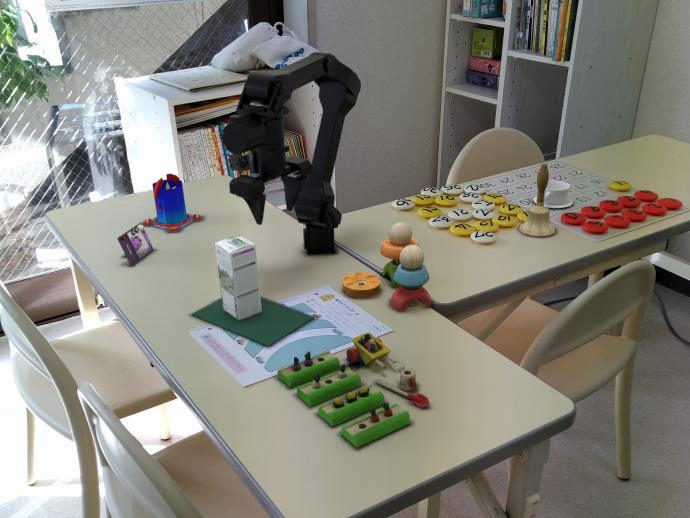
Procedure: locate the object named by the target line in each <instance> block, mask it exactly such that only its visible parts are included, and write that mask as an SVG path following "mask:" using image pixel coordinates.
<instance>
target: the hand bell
mask: <svg viewBox="0 0 690 518" xmlns="http://www.w3.org/2000/svg"><path fill="white" fill-rule="evenodd" d="M536 176H537V177H536V186H537V195H536V196H537V203H535V205H533V206H531V207H530V208H529V212H528V214H527V218H526V219H525V221H524V222H523V223H522V224H521V225H520V226H519V228H518V230H519V232H520V233H522V234H524V235H526V236H528V237H533V238H546V237H550V236H552V235H554V234H555V233H556V229H555V226H553V224H552V223H551V220H550V219H551V218H550V208H549V207H545V206H544V194H545V189H546V187H547V184H548V181H549V180H550V172H549V169H548V164H547V163H541V166H540V168H539V170H538V172H537V175H536Z"/></svg>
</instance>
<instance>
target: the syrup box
mask: <svg viewBox="0 0 690 518" xmlns="http://www.w3.org/2000/svg"><path fill="white" fill-rule="evenodd" d="M256 248H257V247H256V244H255V243H254V242H252V241H250V240H248V239H246V238H245V237H243V236H241V235H238V234H237V235H234V236H230V237H229V236H228V237H227V238H224V239H221V240H219V241H216V242H214V249H215V256H216V257H215V258H216V267H217V272H218V280H219V281H218V282H219V288H220V296H221V298H222V304H223V310H224V311H225V312H227V313H228V314H230V315H231V316H233V317H234V318H236V319H237V320H241V319H244V318H247V317H250V316H252V315H255V314H257V313H259V312H262V307H261V298H262V296H261V288H260V279H259V270H258V269H259V268H258V258H257V249H256Z"/></svg>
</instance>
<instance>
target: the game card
mask: <svg viewBox="0 0 690 518" xmlns="http://www.w3.org/2000/svg"><path fill="white" fill-rule="evenodd" d="M144 227H145V226H143V223H142V222H139V223H137V224H136V225H134V226H133V227H131V228H130V229H129V230H127V231H126V232H124V233H122V234H121V235H120V236H118V237H117V241H118V244H119V246H120V248H121V249H122V251H123V254H122V257H123V258H125V257H126V260H127V261H128V263H129V266H130V267H132V266H134V265H136V264H137V263H138V262H139V261H141V260H143V258H145V257H146V256H147V255H149V254H150V253H151V252H153V251H154V250H155V249H154V247H153V244H152V243H151V240H150V238H149V236H148V234H147V232H146V230H145V228H144ZM129 233H130V235H131V237H130V236H129V235H128V234H129ZM139 233H141V234H142V236H143V238H144V239H143V238H140V237H139V235H136V234H139ZM144 240H145V241H146V244H147V246H148V247H147V251H146V252H144V254H142V255H140V257H139V255H138V253H137V252H138V251H139V250H140V249H141V248H142V246H143V244H144V243H142V241H144Z"/></svg>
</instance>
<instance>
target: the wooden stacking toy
mask: <svg viewBox="0 0 690 518" xmlns="http://www.w3.org/2000/svg"><path fill="white" fill-rule="evenodd" d="M412 237H413V229H412V228H411V227H410V225H409V224H407V223H406V222H395V223H394V224H392V225H391V226H390V228H389V230H388V237H387V238H385V239H384V240H383V241H382V243H381V245H380V249H379V252H380V255H381V256H382V257H384V258H387V259H390V261H389V262H387V263H386V264H385V265H384V266H383V268H382V274H381V275H382V276H383V277H385V276H390V281H391V285H392V287H393V288H395V290H394V291H393V293H392V295H391V298H390V306H391V307H392V308H393V310H395V311H398V312H400V313H401V312H404V311H405V310H407V308H408V306H414V305H415V303H416V301H420V302H421V303H422V304H423V305H424V306H425V307H427V308H430V307H431V306H432V298H431V295H430V293H429V291H428V290H427V289H426V288H425V287H424V285H426V284H427V283H428V282H429V280H430V273H429V271H428V270H427V267H426V265H425V264H424V261H425V252H424V251H423V249H422V248H421V247H420V246H419V243H418V242H417V241H416V240H415V239H413V238H412ZM341 284H342V287H343V290H344V292H345V294H347V296H350V297H353V298H357V299H358V298H359V299H365V298H370V297H374V296H376V295H377V294H378V293H379V292H380V291H379V290H380V287H381V284H382V279H381V278H380V277H379V276H378V275H376V274H374V273H371V272H364V271H362V272H361V271H360V272H353V273H349V274H347V275H345V276H344V277H342V279H341Z"/></svg>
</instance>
